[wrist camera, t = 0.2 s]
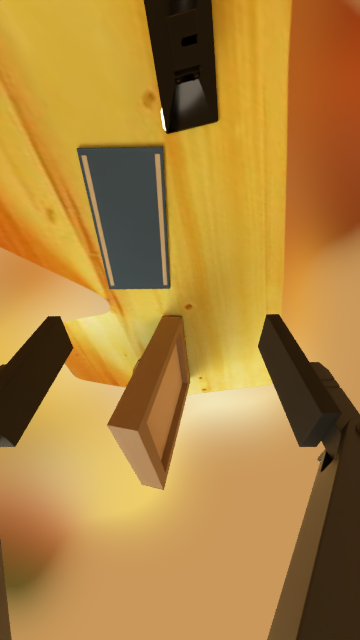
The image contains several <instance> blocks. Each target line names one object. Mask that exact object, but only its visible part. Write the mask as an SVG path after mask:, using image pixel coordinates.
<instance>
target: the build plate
mask: <svg viewBox="0 0 360 640" xmlns="http://www.w3.org/2000/svg"><path fill="white" fill-rule="evenodd" d="M144 4H145V10H146V16H147V22H148V28H149V34H150V40H151V46H152V52H153V58H154V64H155V70H156V75H157V81H158V87H159V93H160V99H161V105H162V109H161V117H162V123H163V128H164V130H165V131H166V133H167V134H170V133H174V132H178V131H182V130H186V129H190V128H194V127H198V126H203V125H207V124H211V123H215V122H217V121H218V107H217V89H216V72H215V55H214V38H213V20H212V3H211V0H144Z"/></svg>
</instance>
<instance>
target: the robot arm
mask: <svg viewBox="0 0 360 640" xmlns="http://www.w3.org/2000/svg"><path fill="white" fill-rule="evenodd" d="M258 348H259V350H260V353H261V355H262V358H263V360H264V362H265V365H266V367H267V370H268V372H269V374H270V377H271V379H272V382H273V384H274V387H275V389H276V391H277V394H278V396H279V399H280V401H281V403H282V406H283V408H284V411H285V413H286V416H287V418H288V420H289V423H290V425H291V428H292V430H293V432H294V435H295V437H296V440H297V442H298V444H299V446H300V447H317V445H318V444H319V443H320V441H322V443H323V445H324V446H325V450H324V452H323V453H322V454H321V455H320V456H319V458H318V460H319V461H321V462H320V465H319V469H318V472H317V475H316V478H315V482H314V485H313V488H312V492H311V495H310V499H309V502H308V505H307V508H306V512H305V515H304V519H303V522H302V525H301V529H300V532H299V535H298V539H297V542H296V545H295V549H294V552H293V555H292V559H291V562H290V566H289V569H288V572H287V575H286V579H285V582H284V585H283V589H282V592H281V596H280V599H279V602H278V606H277V609H276V612H275V615H274V619H273V622H272V625H271V629H270V632H269V636H268V639H267V640H360V414H359V413H358V411H357V410H356V408H355V407H354V406H353V404H352V403H351V401H350V400H349V398H348V397H347V396H346V394H345V393H344V391H343V390H342V389H341V388H340V386H339V384H338V383H337V382H336V380H334V377H333V376H332V374H331V373H330V372H329V370H328V369H326V368H325V367H324V366H323V365H322V364H320V363H319V362H309V361H308V359H307V358H306V356H305V354H304V353H303V351H302V350H301V348H300V347H299V345H298V344H297V342H296V340H295V339H294V337H293V336H292V334H291V333H290V331H289V329H288V328H287V326H286V325H285V323H284V322H283V320H282V319H281V317H280V315H279V314H268V315H266V319H265V322H264V326H263V330H262V334H261V337H260V341H259V345H258ZM72 349H73V346H72V344H71V341H70V339H69V336H68V334H67V332H66V329H65V327H64V324H63V322H62V320H61V317H60V316H50V317H49V316H48V317H47V319H46V320H45V321H44V322H43V323H42V324H41V325H40V326H39V328H38V329H37V330H36V331H35V332H34V333H33V335H32V336H31V337H30V338H29V339H28V340H27V341H26V343H25V344H24V345H23V346H22V347H21V348H20V349H19V351H18V352H17V353H16V354H15V355H14V356H13V357H12V359H11V360H10V361H9V362H8V363H7V364H6V365H1V366H0V447H15V446H16V445H17V443H18V441H19V440H20V438H21V436H22V434H23V433H24V431H25V429H26V428H27V426H28V424H29V422H30V421H31V419H32V417H33V416H34V414H35V412H36V411H37V409H38V407H39V405H40V404H41V402H42V400H43V399H44V397H45V395H46V394H47V392H48V390H49V388H50V387H51V385H52V383H53V382H54V380H55V378H56V377H57V375H58V373H59V371H60V370H61V368H62V366H63V365H64V363H65V361H66V359H67V358H68V356H69V354H70V353H71V351H72ZM0 640H11V632H10V623H9V615H8V604H7V595H6V586H5V578H4V568H3V559H2V550H1V541H0Z"/></svg>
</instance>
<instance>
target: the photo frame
mask: <svg viewBox="0 0 360 640" xmlns="http://www.w3.org/2000/svg"><path fill="white" fill-rule="evenodd" d="M189 384H190V377H189V369H188V361H187V353H186V345H185V336H184V328H183V320H182V317H173V316H163V317H162V319H161V321H160V323H159V324H158V326H157V328H156V330H155V332H154V334H153V336H152V338H151V340H150V342H149V344H148V346H147V348H146V350H145V352H144V354H143V356H142V358H141V360H138V362H137V364H136V366H135V367H134V369H133V375H132V377H131V379H130V381H129V383H128V385H127V387H126V389H125V391H124V393H123V395H122V397H121V399H120V401H119V403H118V405H117V407H116V409H115V411H114V413H113V415H112V417H111V418H110V420H109V422H108V424H107V425H108V427H109V429H110V431H111V432H112V434H113V436H114V438H115V439H116V441H117V443H118V444H119V446H120V448H121V449H122V451H123V453H124V455H125V456H126V458H127V460H128V461H129V463H130V465H131V466H132V468H133V470H134V471H135V473H136V475H137V477H138V478H139V480H140V482H141V484H143V485H146V486H150V487H154V488H158V489H162V490H164V487H165V483H166V478H167V474H168V470H169V466H170V462H171V458H172V454H173V449H174V446H175V441H176V437H177V433H178V429H179V425H180V420H181V417H182V413H183V408H184V405H185V400H186V396H187V392H188V388H189Z"/></svg>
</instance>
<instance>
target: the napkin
mask: <svg viewBox="0 0 360 640" xmlns="http://www.w3.org/2000/svg"><path fill="white" fill-rule="evenodd" d="M77 152H78V156H79V160H80V165H81V169H82V173H83V177H84V182H85V186H86V190H87V195H88V199H89V203H90V207H91V212H92V216H93V220H94V224H95V229H96V233H97V237H98V242H99V246H100V250H101V254H102V259H103V263H104V267H105V272H106V276H107V280H108V284H109V289H169V288H170V283H169V262H168V242H167V222H166V201H165V181H164V160H163V147H119V148H77Z"/></svg>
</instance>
